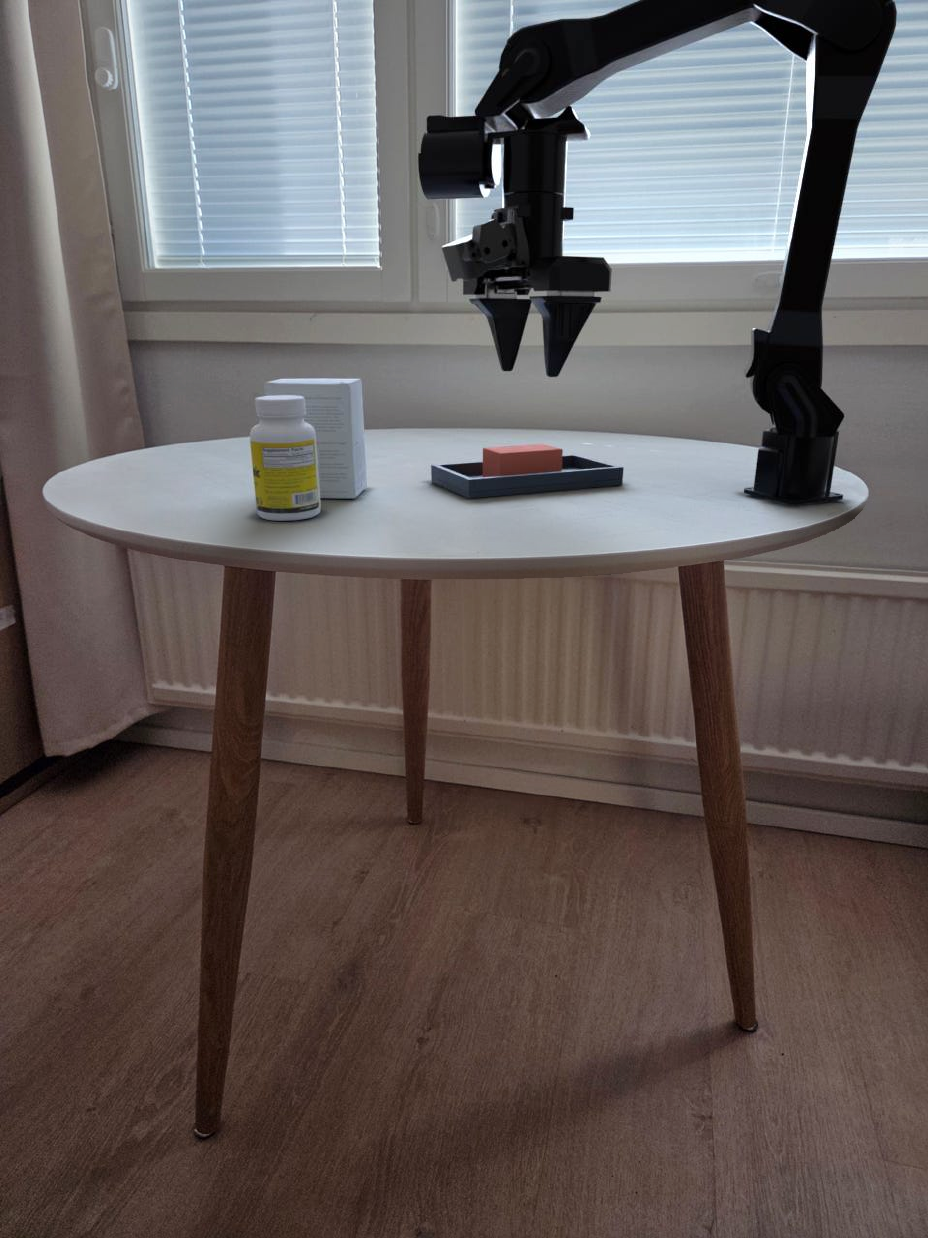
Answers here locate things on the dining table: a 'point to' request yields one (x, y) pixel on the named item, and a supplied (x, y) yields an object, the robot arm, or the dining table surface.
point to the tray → (526, 478)
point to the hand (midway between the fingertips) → (528, 373)
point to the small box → (332, 430)
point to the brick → (521, 460)
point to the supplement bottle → (284, 460)
